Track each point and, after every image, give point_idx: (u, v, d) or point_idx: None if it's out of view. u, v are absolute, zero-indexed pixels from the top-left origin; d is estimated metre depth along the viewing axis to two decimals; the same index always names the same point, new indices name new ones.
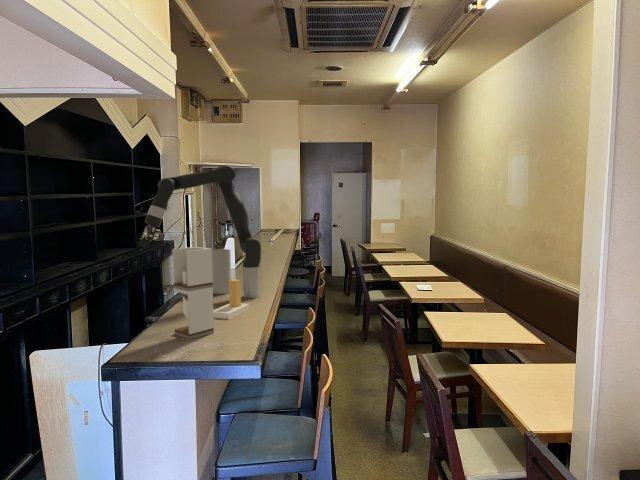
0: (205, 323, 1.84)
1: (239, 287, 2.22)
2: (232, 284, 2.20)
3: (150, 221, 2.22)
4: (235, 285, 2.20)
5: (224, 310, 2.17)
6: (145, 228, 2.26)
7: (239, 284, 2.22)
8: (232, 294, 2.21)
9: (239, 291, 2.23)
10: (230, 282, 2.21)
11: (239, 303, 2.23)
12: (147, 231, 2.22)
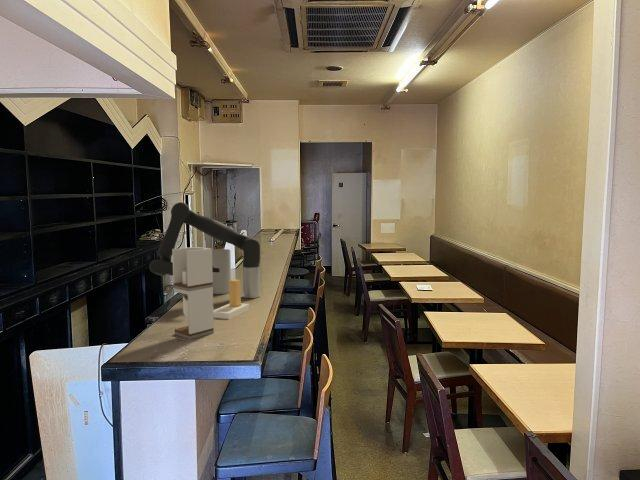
0: (205, 323, 1.84)
1: (239, 287, 2.22)
2: (232, 284, 2.20)
3: None
4: (235, 285, 2.20)
5: (224, 310, 2.17)
6: None
7: (239, 284, 2.22)
8: (232, 294, 2.21)
9: (239, 291, 2.23)
10: (230, 282, 2.21)
11: (239, 303, 2.23)
12: None
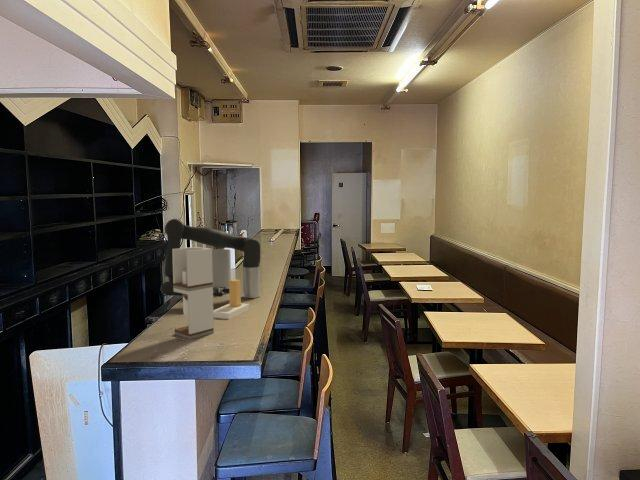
0: (205, 323, 1.84)
1: (239, 287, 2.22)
2: (232, 284, 2.20)
3: None
4: (235, 285, 2.20)
5: (224, 310, 2.17)
6: None
7: (239, 284, 2.22)
8: (232, 294, 2.21)
9: (239, 291, 2.23)
10: (230, 282, 2.21)
11: (239, 303, 2.23)
12: None
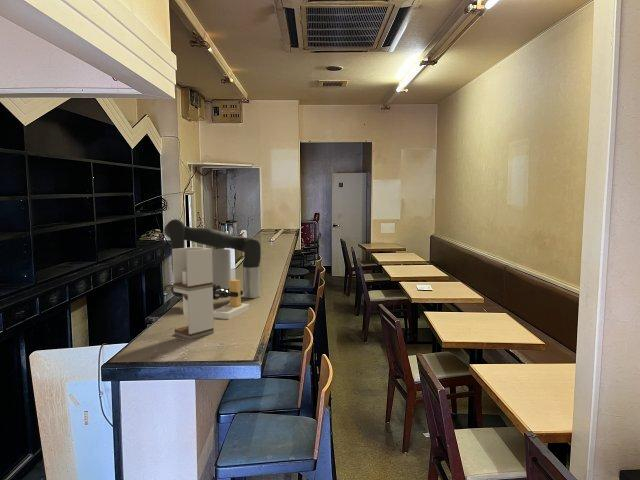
0: (205, 323, 1.84)
1: (239, 287, 2.22)
2: (232, 284, 2.20)
3: None
4: (235, 285, 2.20)
5: (224, 310, 2.17)
6: None
7: (239, 284, 2.22)
8: None
9: (239, 291, 2.23)
10: (230, 282, 2.21)
11: (239, 303, 2.23)
12: None
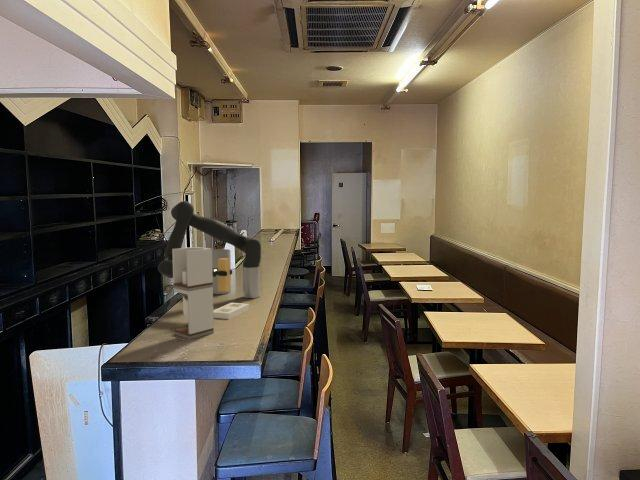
0: (205, 323, 1.84)
1: (228, 266, 2.12)
2: (221, 263, 2.10)
3: None
4: (224, 263, 2.09)
5: (224, 310, 2.17)
6: None
7: (228, 263, 2.12)
8: None
9: (228, 270, 2.12)
10: (219, 260, 2.10)
11: (228, 282, 2.12)
12: None
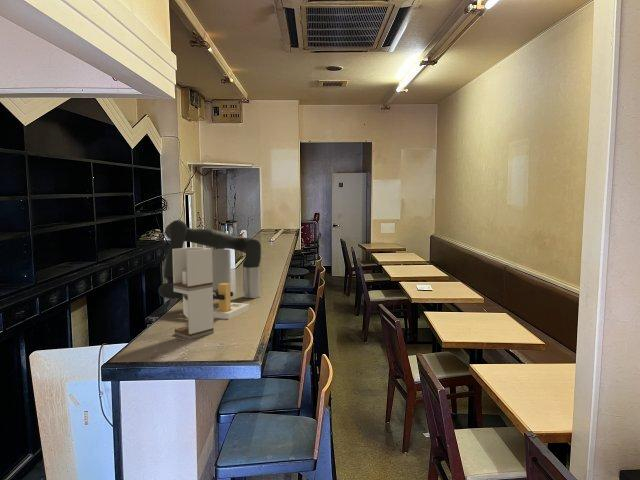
0: (205, 323, 1.84)
1: (228, 291, 2.13)
2: (221, 288, 2.11)
3: None
4: (224, 289, 2.10)
5: None
6: None
7: (228, 288, 2.13)
8: None
9: (229, 295, 2.13)
10: (219, 286, 2.11)
11: (228, 307, 2.13)
12: None
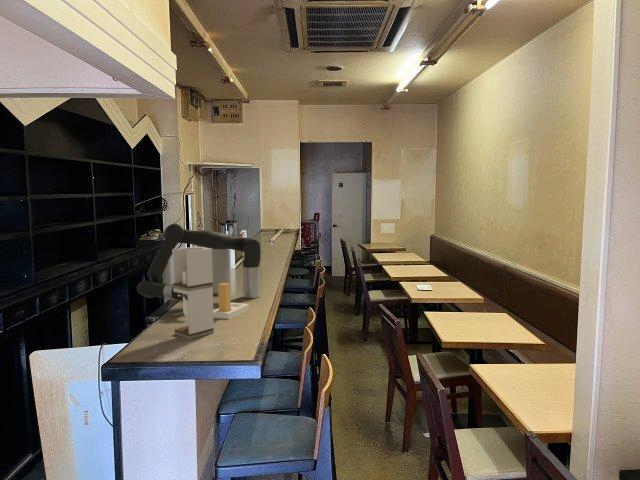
0: (205, 323, 1.84)
1: (228, 291, 2.13)
2: (221, 288, 2.11)
3: (177, 297, 2.17)
4: (224, 289, 2.10)
5: None
6: None
7: (228, 288, 2.13)
8: (221, 298, 2.11)
9: (229, 295, 2.13)
10: (219, 286, 2.11)
11: (228, 307, 2.13)
12: None
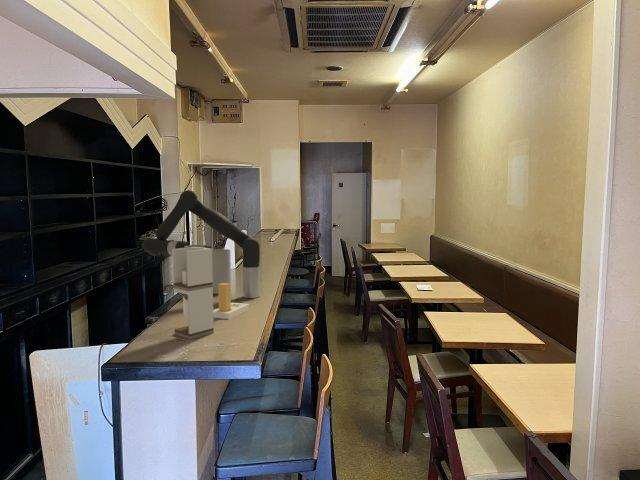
0: (205, 323, 1.84)
1: (228, 291, 2.13)
2: (221, 288, 2.11)
3: None
4: (224, 289, 2.10)
5: None
6: None
7: (228, 288, 2.13)
8: (221, 298, 2.11)
9: (229, 295, 2.13)
10: (219, 286, 2.11)
11: (228, 307, 2.13)
12: None
